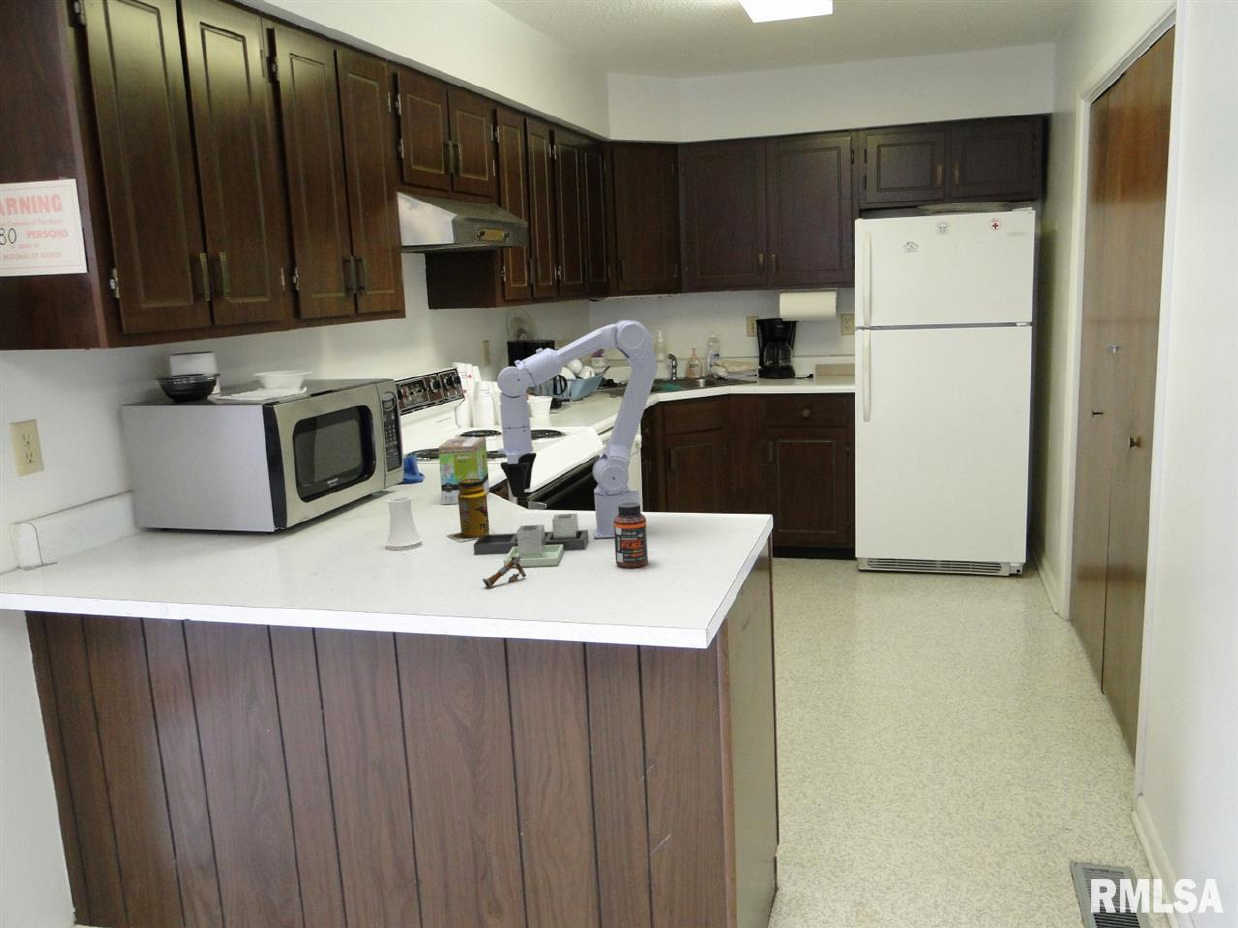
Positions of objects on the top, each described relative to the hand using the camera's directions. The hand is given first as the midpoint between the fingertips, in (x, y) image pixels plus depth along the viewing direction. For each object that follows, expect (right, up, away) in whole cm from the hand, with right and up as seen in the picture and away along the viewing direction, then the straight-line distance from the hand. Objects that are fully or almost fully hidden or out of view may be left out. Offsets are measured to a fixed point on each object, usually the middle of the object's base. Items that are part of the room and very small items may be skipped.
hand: (521, 492), depth 201 cm
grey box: (+3, -12, -12) cm, 18 cm away
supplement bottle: (+22, -13, -20) cm, 32 cm away
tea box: (-19, -3, +52) cm, 55 cm away
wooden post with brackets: (-1, -16, -26) cm, 30 cm away
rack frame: (+2, -11, -2) cm, 11 cm away
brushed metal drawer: (+9, -11, -3) cm, 14 cm away
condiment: (-12, -10, +11) cm, 19 cm away
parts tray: (+4, -13, -12) cm, 18 cm away
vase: (-25, -11, +6) cm, 28 cm away
